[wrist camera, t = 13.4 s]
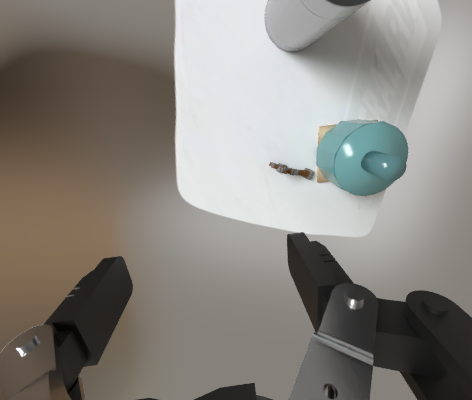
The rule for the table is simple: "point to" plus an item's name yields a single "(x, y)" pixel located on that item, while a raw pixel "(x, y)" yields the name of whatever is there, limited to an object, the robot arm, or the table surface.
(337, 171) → the teal lid with knob
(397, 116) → the table surface
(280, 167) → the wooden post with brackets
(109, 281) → the robot arm
